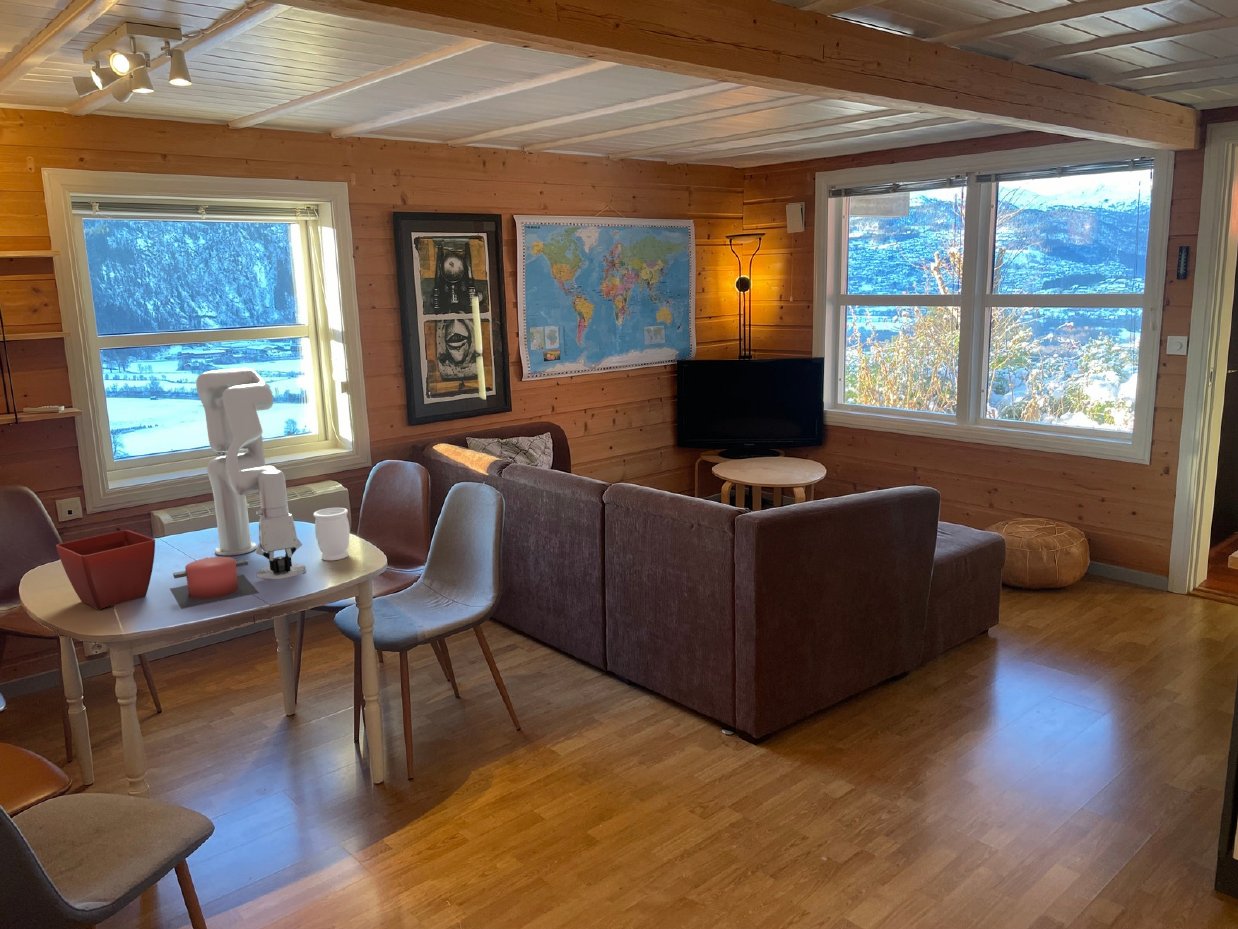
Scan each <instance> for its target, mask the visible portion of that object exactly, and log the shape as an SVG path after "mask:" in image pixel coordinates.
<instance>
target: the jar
mask: <svg viewBox="0 0 1238 929" xmlns="http://www.w3.org/2000/svg"><path fill="white" fill-rule="evenodd" d="M348 512H349V511H348V509H347V508H345V507H327V508H323V509H319V510H316V511H314V512H313V517H314V518H315V522H314V531H315V532H314V534H315V537H316V540H317V545H318V548H319V551H320V552H321V556H320V557H321V560H324V561H339V560H343V559H346V558H347V557H348V556H349V552H348V551H347V550H348V548H349V546H350V545H349V544H350V532H351V530H350V522H349V519H348Z"/></svg>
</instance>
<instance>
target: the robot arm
mask: <svg viewBox="0 0 1238 929" xmlns="http://www.w3.org/2000/svg"><path fill="white" fill-rule="evenodd" d="M195 385H196V386H195V388H196V391H197V395H198V397H199V400H200V401H201V404H202V406H203V409H204V415H205V421H206V429H207V430H206V431H207V436H208V442H209V446H210V448H211V450H212V451H213V452H216V453H226V455H221V456H218V457H217V456H216V457H215V458H212V459H211V460H210V461H209V462H208V463H207V467H206V470H207V471H206V472H207V475H208V479H209V482H210V486H211V489H212V496H213V501H214V510H215V517H216V519H215V520H216V525H217V533H218V541H219V542H218V543H219V545H218V546H217V547H215V549H214V552H215V554H216V555H218V556H223V557H230V556H237V555H242V554H247V553H250V552H253V551H254V553H255V554H256V555H260V556H261V557H264V558H266V559H267V560H268V563H269V566H270V570H272V571H273V572H274V573H277V567H276V560H275V559H274V558H275V552H277V551H282V550H284V553H285V555H284V557H286V565H287V570H290V567H292V563H293V562H292V557H293V555H294V554H295V553H296V551H297V550H298V549H299V548H301V547H302V546H303V543H302V542H301V541H300V540H299V538H298V536H297V531H296V525H295V521H294V518H293V514H292V513H290V512H289V504H288V495H287V485H286V476H285V473H284V472H283V471H282V470H280V469H278V468H277V467H276V466H273V465H266V460H265V452H264V443H263V433H264V432H263V428H262V425H261V421H260V418H259V415H258V412H259V411H267V410H269V409H271V408H272V407H273V404H274V396H273V392H272V390H271V388H270V387H269V385H268V383H267V382H266V381H265V380H264V379H263V377H262V376H260V375H259V373H257V371H256V370H255V369H253V368H250V367H241V368H227V369H216V370H210V371H205V372H203V373H200V374H199V375H198V376H197V378H196V383H195ZM241 450H245V452H241V453H240V451H241ZM257 493H258V495H259V503H260V504H259V505H260V507H259V508H260V509H258V510H256V511H255V514H256V516H260V517H259V520H258V523H259V524H258V540H259V542H258V545H257V543H255V542H254V541H253V542H252V538H251V530H250V522H249V521H250V520H249V513H248V502H247V498H246V497H247V496H246V495H251V494H257Z"/></svg>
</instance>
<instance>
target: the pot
mask: <svg viewBox="0 0 1238 929" xmlns="http://www.w3.org/2000/svg"><path fill="white" fill-rule="evenodd" d="M248 565H249V562H248V560H247V559H242V560H237V561H236V559H235V558H234V557H230V556H214V557H213V556H212V557H205V558H200V559H197V560H193V561H192V562H189V563H187V564H186V565H185V566H184V568H185V569H184V570H183V571H181V570H180V571H178V572H177V571H176V572H172V576H173V578H174V579H179V578H180V579H181V578H185V577H186V584H187V585H188V593H189V596H190V597H192V598H197V599H208V598H216V597H221V596H225V595H228V594H231V593H233V592H235V591H236V590H237V589H238V588H239V587H238V578H237V576H238V572H237V571H238V570H237V568H239V567H244V566H248Z"/></svg>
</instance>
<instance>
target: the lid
mask: <svg viewBox="0 0 1238 929" xmlns="http://www.w3.org/2000/svg"><path fill="white" fill-rule="evenodd" d="M274 559H275V560H276V567H277V573H274V572H273V571H272V570H270V565H269V566H266V567H263V568H261V569H259V570H258V571H256V577H257V578H259V579H262V580H280V579H287V578H291V577H295V576H299V575H300V574H302V575H304V574H306V571H307V567H306V565H304V564H301V563H295V562H292V567H290V570H287V565H286V557H285V555H282V556H276V557H274Z"/></svg>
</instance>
